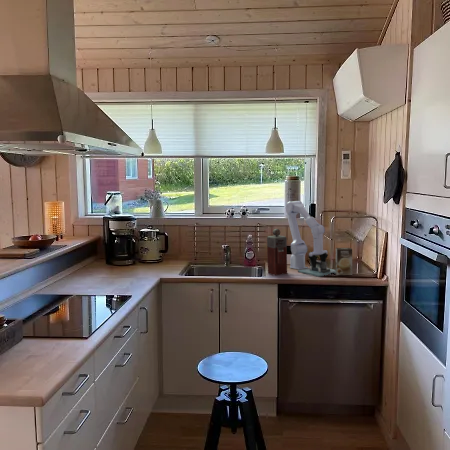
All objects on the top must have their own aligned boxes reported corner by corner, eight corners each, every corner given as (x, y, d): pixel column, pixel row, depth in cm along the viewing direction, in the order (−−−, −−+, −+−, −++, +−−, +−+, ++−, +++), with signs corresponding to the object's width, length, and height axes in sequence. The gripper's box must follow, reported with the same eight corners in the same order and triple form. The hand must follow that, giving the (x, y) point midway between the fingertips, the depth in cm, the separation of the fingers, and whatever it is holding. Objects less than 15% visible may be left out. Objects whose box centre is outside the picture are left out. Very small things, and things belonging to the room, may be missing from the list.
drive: (310, 269, 283) (310, 260, 283) (314, 268, 286) (314, 259, 285) (321, 272, 275) (321, 262, 275) (326, 271, 277) (326, 261, 277)
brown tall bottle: (277, 276, 274) (276, 230, 271) (267, 272, 284) (266, 228, 281) (289, 274, 278) (288, 229, 275) (279, 271, 288) (278, 227, 285)
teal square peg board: (297, 272, 283) (297, 266, 282) (318, 267, 293) (318, 262, 292) (319, 276, 268) (319, 271, 268) (339, 272, 278) (339, 266, 278)
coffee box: (336, 275, 269) (336, 249, 267) (335, 273, 275) (335, 247, 273) (352, 275, 268) (352, 249, 266) (350, 273, 274) (350, 247, 272)
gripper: (314, 246, 271) (314, 268, 273) (331, 244, 279) (331, 265, 281) (306, 245, 277) (306, 267, 278) (322, 242, 285) (323, 264, 286)
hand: (318, 266), depth 280 cm, fingers open, 7 cm apart
